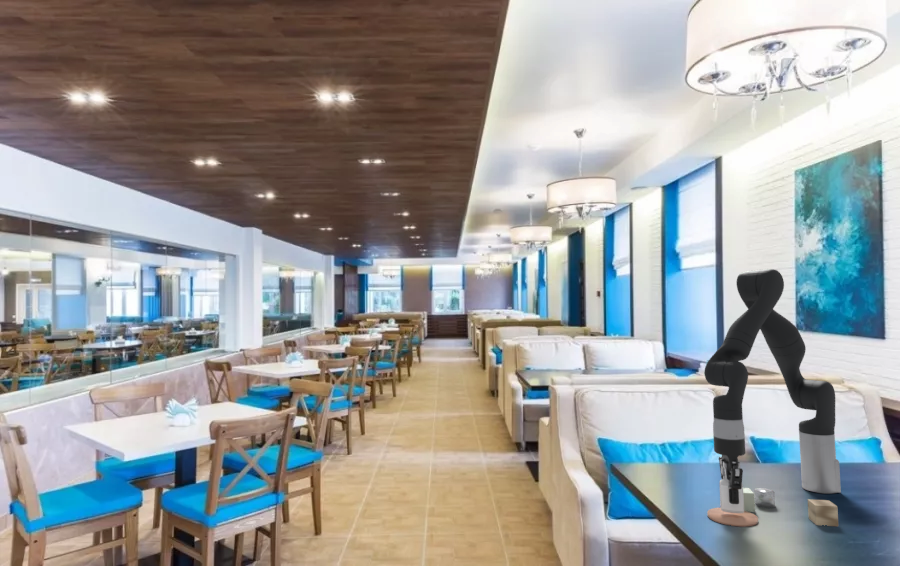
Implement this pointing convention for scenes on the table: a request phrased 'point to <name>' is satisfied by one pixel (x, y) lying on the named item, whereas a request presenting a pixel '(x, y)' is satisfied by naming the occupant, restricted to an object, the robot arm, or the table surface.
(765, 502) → the steel puck
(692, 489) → the table surface
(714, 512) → the salmon disc
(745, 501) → the sage block
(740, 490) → the eye dropper bottle
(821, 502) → the oak block
